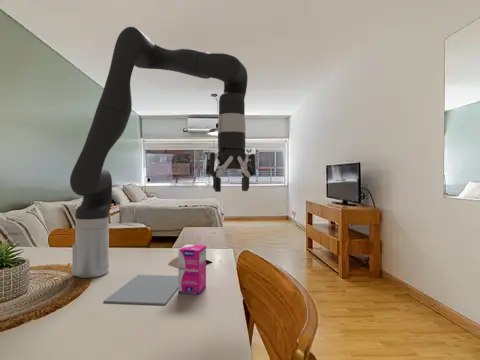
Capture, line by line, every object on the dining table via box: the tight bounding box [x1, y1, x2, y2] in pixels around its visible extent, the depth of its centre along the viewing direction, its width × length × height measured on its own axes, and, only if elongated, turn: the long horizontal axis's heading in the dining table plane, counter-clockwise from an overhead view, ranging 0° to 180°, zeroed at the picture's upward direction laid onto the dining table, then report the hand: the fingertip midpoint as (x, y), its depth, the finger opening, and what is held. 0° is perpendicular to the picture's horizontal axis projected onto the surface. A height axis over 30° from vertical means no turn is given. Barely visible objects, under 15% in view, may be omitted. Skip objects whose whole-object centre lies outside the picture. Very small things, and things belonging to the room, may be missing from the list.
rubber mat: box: [102, 274, 178, 306], centre depth 83 cm, size 15×20×1 cm
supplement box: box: [177, 243, 207, 296], centre depth 82 cm, size 6×6×12 cm
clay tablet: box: [167, 255, 212, 269], centre depth 108 cm, size 14×10×3 cm
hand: (231, 191), depth 85 cm, fingers open, 8 cm apart
